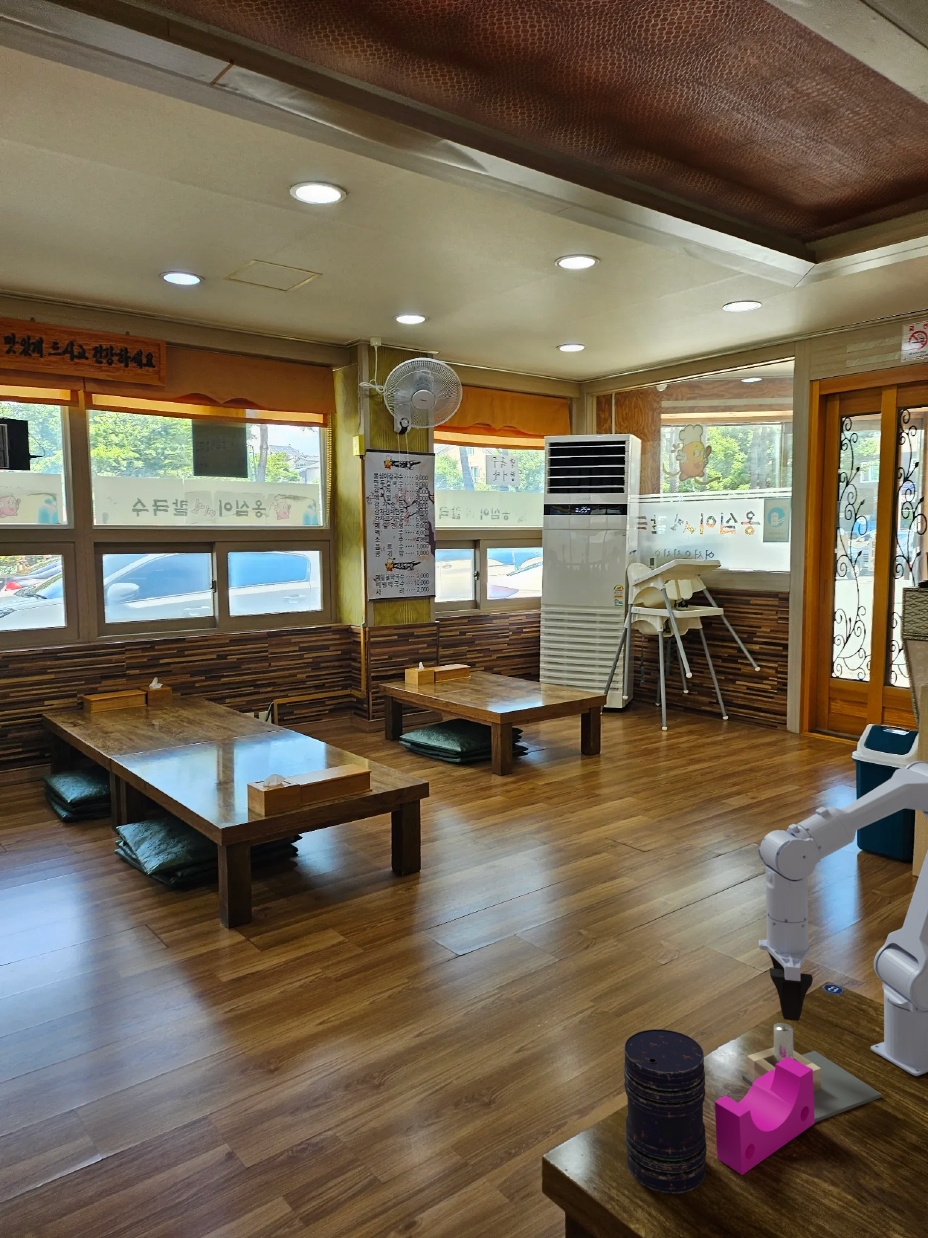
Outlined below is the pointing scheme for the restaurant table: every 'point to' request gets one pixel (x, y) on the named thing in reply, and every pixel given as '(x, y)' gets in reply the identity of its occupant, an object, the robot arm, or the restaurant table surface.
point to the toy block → (765, 1115)
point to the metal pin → (782, 1042)
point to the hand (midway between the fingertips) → (788, 1005)
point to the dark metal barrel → (665, 1110)
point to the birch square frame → (765, 1063)
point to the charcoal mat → (835, 1089)
